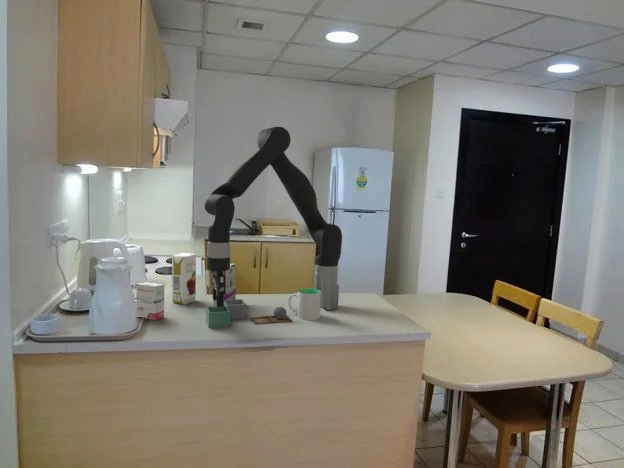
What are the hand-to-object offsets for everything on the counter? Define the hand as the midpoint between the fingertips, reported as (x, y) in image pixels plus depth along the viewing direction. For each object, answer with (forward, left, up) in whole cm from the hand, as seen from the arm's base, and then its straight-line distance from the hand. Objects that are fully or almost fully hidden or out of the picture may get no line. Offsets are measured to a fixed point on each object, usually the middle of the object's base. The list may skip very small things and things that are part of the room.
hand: (218, 303), depth 159 cm
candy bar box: (-6, -22, -8) cm, 24 cm away
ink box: (+21, -16, -8) cm, 28 cm away
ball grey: (-22, 0, -7) cm, 23 cm away
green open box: (0, 0, -8) cm, 8 cm away
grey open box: (-7, -8, -8) cm, 13 cm away
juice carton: (+8, -34, -8) cm, 36 cm away
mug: (-31, -2, -8) cm, 32 cm away
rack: (-18, 0, -8) cm, 20 cm away
